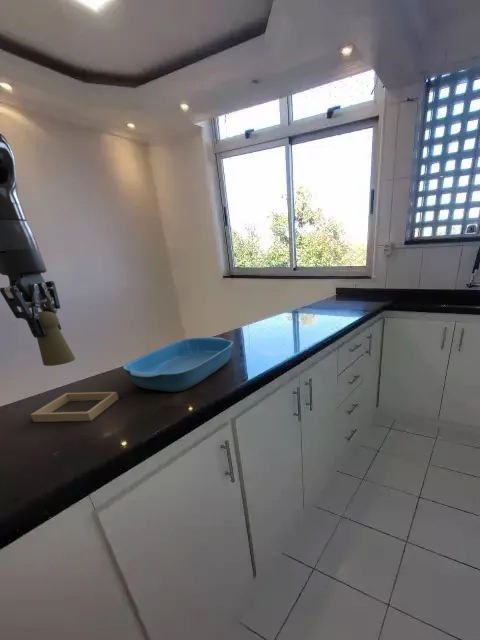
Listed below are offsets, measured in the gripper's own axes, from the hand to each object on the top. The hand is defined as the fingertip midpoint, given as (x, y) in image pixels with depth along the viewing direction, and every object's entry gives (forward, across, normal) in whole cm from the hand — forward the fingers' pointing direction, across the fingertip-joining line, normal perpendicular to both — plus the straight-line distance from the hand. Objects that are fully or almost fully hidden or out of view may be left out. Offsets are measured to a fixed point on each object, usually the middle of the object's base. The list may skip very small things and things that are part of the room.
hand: (48, 333), depth 68 cm
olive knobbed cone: (+7, 0, 0) cm, 7 cm away
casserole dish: (+20, -21, +22) cm, 37 cm away
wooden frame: (+20, 0, 0) cm, 20 cm away
